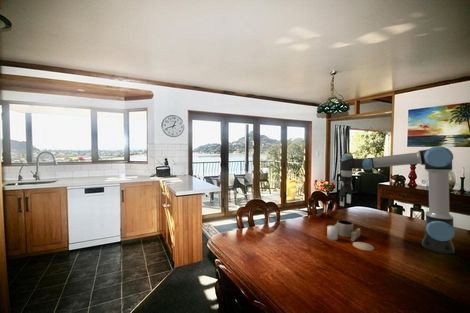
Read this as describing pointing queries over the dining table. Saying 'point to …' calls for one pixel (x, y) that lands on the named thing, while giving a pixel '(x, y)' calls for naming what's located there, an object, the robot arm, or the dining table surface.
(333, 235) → the white cylinder
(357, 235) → the cradle
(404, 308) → the dining table surface
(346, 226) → the planter
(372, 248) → the mat
